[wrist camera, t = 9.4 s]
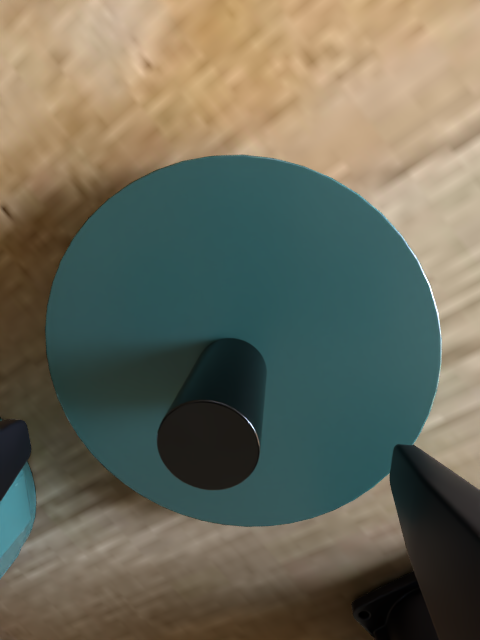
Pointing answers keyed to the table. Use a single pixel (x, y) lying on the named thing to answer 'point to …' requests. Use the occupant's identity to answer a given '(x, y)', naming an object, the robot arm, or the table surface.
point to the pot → (16, 517)
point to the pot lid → (243, 340)
